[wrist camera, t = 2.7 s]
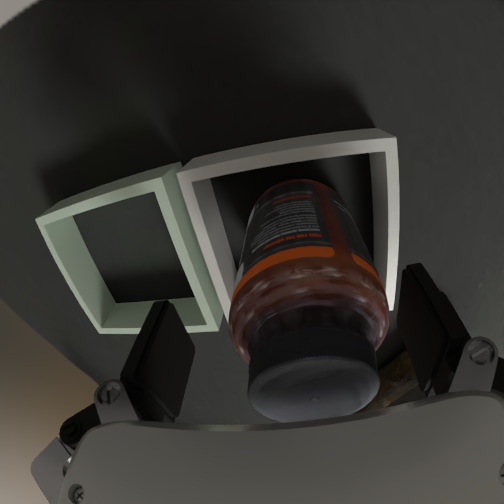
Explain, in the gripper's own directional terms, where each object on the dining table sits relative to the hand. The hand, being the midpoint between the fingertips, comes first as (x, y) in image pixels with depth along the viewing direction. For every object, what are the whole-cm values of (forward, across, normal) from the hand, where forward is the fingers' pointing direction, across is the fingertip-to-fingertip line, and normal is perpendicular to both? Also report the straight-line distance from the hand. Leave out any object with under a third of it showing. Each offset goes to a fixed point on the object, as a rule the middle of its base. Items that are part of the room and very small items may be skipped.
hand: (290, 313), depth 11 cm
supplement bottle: (+7, -1, 0) cm, 7 cm away
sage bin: (+7, +10, 0) cm, 13 cm away
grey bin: (+7, -1, 0) cm, 7 cm away
